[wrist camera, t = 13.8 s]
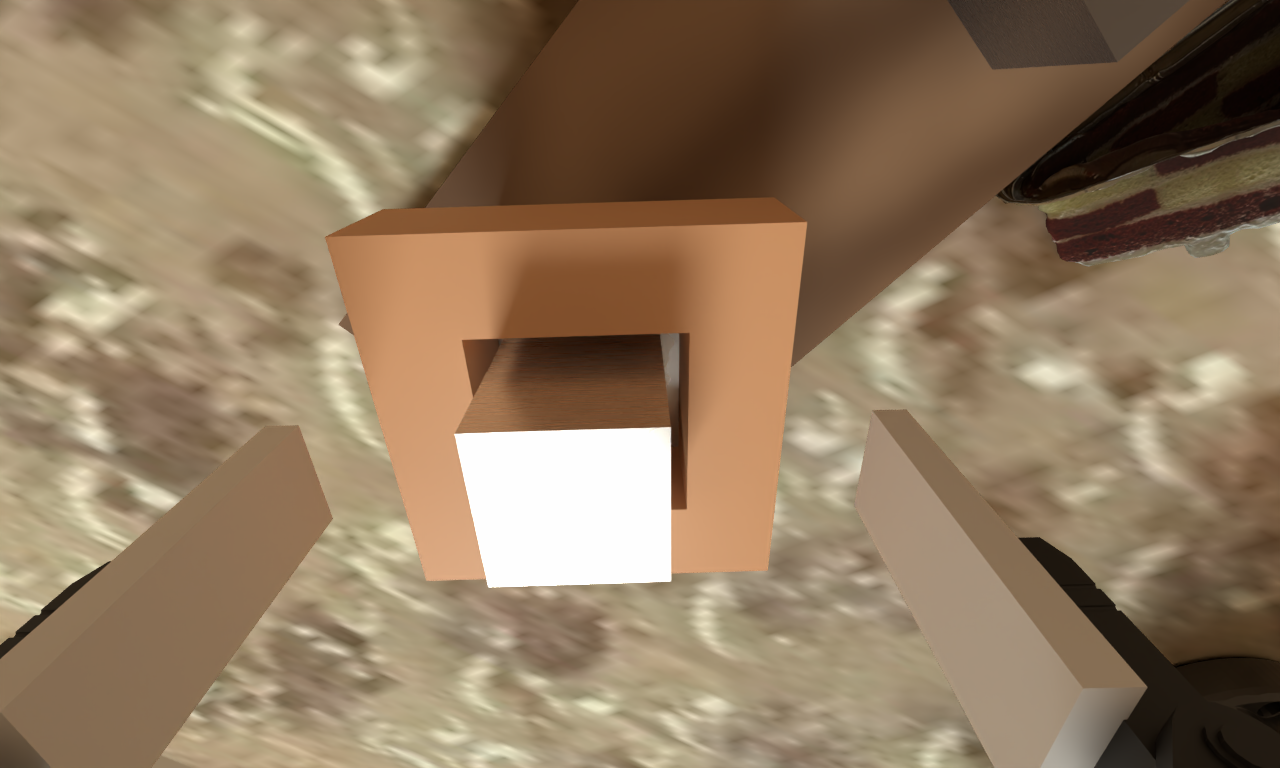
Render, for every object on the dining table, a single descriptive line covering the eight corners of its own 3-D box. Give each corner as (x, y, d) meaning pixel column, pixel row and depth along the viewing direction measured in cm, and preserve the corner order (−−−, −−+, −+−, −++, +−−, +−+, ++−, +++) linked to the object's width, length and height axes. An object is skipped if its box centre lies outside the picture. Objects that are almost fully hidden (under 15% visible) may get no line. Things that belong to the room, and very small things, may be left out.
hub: (693, 219, 19) (758, 350, 9) (690, 394, 22) (735, 625, 13) (493, 225, 19) (351, 363, 9) (519, 399, 22) (433, 634, 13)
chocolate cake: (1019, 324, 24) (1552, 314, 15) (977, 210, 19) (1693, 98, 10) (1058, 159, 26) (1525, 66, 17) (1030, 28, 22) (1626, -183, 13)
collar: (774, 197, 14) (806, 221, 11) (748, 502, 19) (767, 570, 16) (382, 209, 14) (325, 236, 11) (455, 511, 19) (426, 580, 16)
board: (1346, -134, 16) (1410, -154, 15) (613, 496, 27) (613, 517, 25) (1146, -749, 11) (1213, -857, 10) (356, 310, 22) (338, 324, 21)
